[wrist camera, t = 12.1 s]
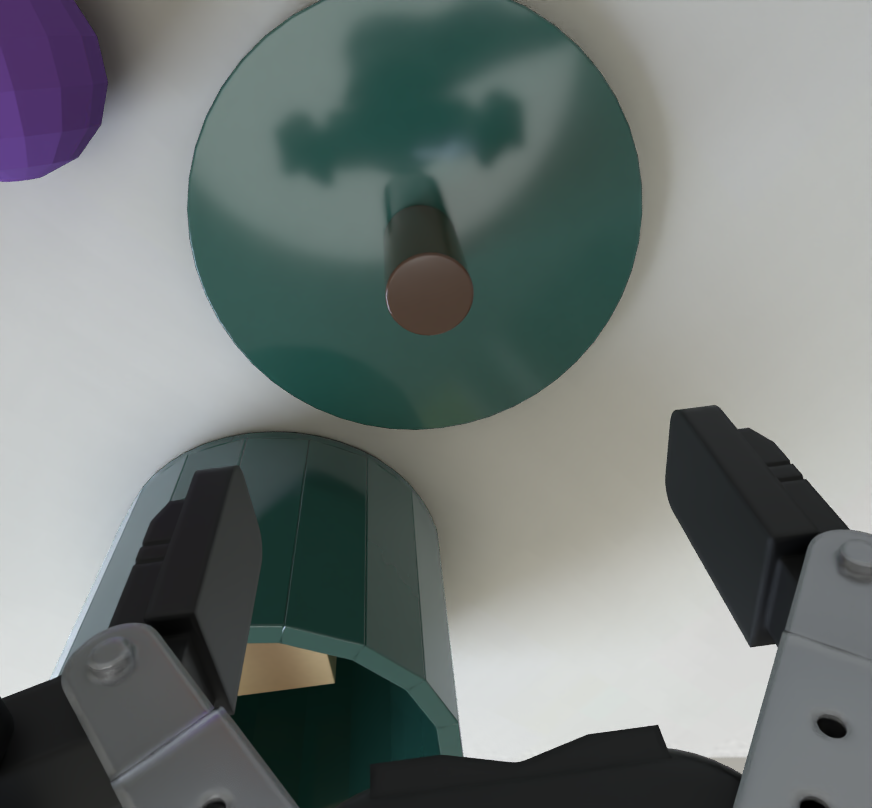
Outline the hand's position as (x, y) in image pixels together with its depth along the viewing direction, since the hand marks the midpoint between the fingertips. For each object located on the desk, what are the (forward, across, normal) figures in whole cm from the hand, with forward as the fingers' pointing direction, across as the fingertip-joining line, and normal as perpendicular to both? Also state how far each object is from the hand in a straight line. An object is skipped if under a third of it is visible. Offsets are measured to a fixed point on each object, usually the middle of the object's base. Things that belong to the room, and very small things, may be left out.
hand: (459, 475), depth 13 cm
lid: (+14, 0, 0) cm, 14 cm away
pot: (+15, +8, +15) cm, 23 cm away
